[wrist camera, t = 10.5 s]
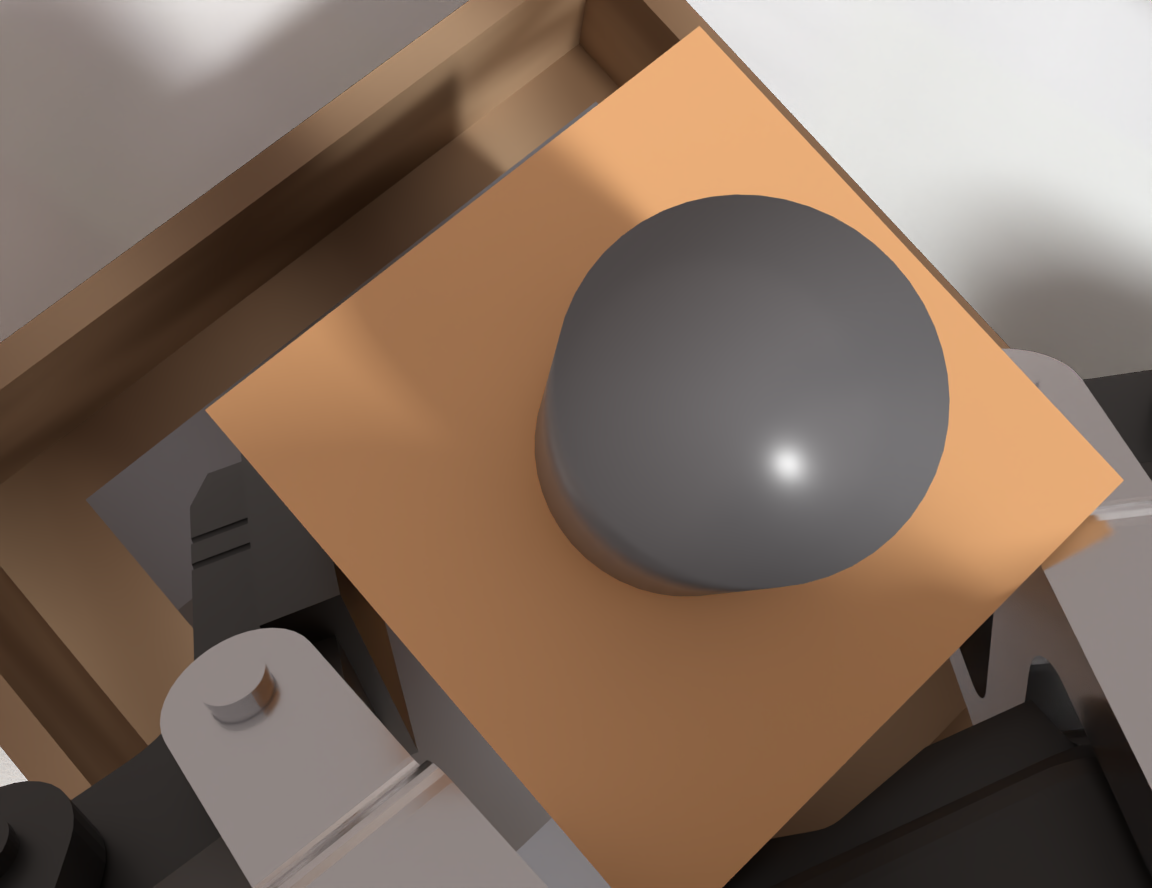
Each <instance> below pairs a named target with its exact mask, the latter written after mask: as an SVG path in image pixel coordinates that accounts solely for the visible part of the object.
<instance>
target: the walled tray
mask: <svg viewBox="0 0 1152 888" xmlns="http://www.w3.org/2000/svg"><path fill="white" fill-rule="evenodd" d="M699 26H700V27H701V28H702V29H703V30H704V31H705V32H706V33H707V34H708V35H709V37H710V38H711V39H712V40H713V41H714V42H715V43H716V44H717V45H718V46H719V47H720V48H721V49H722V50H723V52H724V53H725V54H726V55H727V56H728V57H729V58H730V59H731V60H732V61H733V62H734V63H735V64H736V65H737V67H738V68H739V69H740V70H741V71H742V72H743V73H744V74H745V75H746V76H747V77H748V78H749V79H750V80H751V82H752V83H753V84H754V85H755V86H756V87H757V88H758V89H759V90H760V91H761V92H762V93H763V94H764V95H765V96H766V98H767V99H768V100H769V101H770V102H771V103H772V104H773V105H774V106H775V107H776V108H777V109H778V110H779V111H780V113H781V114H782V115H783V116H784V117H785V118H786V119H787V120H788V121H789V122H790V123H791V124H792V125H793V126H794V128H795V129H796V130H797V131H798V132H799V133H800V134H801V135H802V136H803V137H804V138H805V139H806V140H807V141H808V143H809V144H810V145H811V146H812V147H813V148H814V149H815V150H816V151H817V152H818V153H819V154H820V155H821V156H822V157H823V159H824V160H825V161H826V162H827V163H828V164H829V165H830V166H831V167H832V168H833V169H834V170H835V171H836V172H837V174H838V175H839V176H840V177H841V178H842V179H843V180H844V181H845V182H846V183H847V184H848V185H849V186H850V187H851V189H852V190H853V191H854V192H855V193H856V194H857V195H858V196H859V197H860V198H861V199H862V200H863V201H864V202H865V204H866V205H867V206H868V207H869V208H870V209H871V210H872V211H873V212H874V213H875V214H876V215H877V216H878V217H879V218H880V220H881V221H882V222H883V223H884V224H885V225H886V226H887V227H888V228H889V229H890V230H891V231H892V232H893V233H894V235H895V236H896V237H897V238H898V239H899V240H900V241H901V242H902V243H903V244H904V245H905V246H906V247H907V248H908V250H909V251H910V252H911V253H912V254H913V255H914V256H915V257H916V258H917V259H918V260H919V261H920V262H921V263H922V265H923V266H924V267H925V268H926V269H927V270H928V271H929V272H930V273H931V274H932V275H933V276H934V277H935V278H936V279H937V281H938V282H939V283H940V284H941V285H942V286H943V287H944V288H945V289H946V290H947V291H948V292H949V293H950V294H951V296H952V297H953V298H954V299H955V300H956V301H957V302H958V303H959V304H960V305H961V306H962V307H963V308H964V309H965V311H966V312H967V313H968V314H969V315H970V316H971V317H972V318H973V319H974V320H975V321H976V322H977V323H978V324H979V326H980V327H981V328H982V329H983V330H984V331H985V332H986V333H987V334H988V335H989V336H990V337H991V338H992V339H993V340H994V342H995V343H996V344H997V345H998V346H999V347H1000V348H1001V349H1011V348H1010V347H1009V346H1008V345H1007V344H1006V343H1005V342H1004V341H1003V340H1002V339H1001V338H1000V337H999V335H998V334H997V333H996V332H995V331H994V330H993V329H992V328H991V327H990V326H989V325H988V324H987V323H986V322H985V320H984V319H983V318H982V317H981V316H980V315H979V314H978V313H977V312H976V311H975V310H974V309H973V308H972V307H971V305H970V304H969V303H968V302H967V301H966V300H965V299H964V298H963V297H962V296H961V295H960V294H959V293H958V292H957V290H956V289H955V288H954V287H953V286H952V285H951V284H950V283H949V282H948V281H947V280H946V279H945V278H944V277H943V275H942V274H941V273H940V272H939V271H938V270H937V269H936V268H935V267H934V266H933V265H932V264H931V263H930V262H929V260H928V259H927V258H926V257H925V256H924V255H923V254H922V253H921V252H920V251H919V250H918V249H917V248H916V247H915V245H914V244H913V243H912V242H911V241H910V240H909V239H908V238H907V237H906V236H905V235H904V234H903V233H902V232H901V230H900V229H899V228H898V227H897V226H896V225H895V224H894V223H893V222H892V221H891V220H890V219H889V218H888V217H887V215H886V214H885V213H884V212H883V211H882V210H881V209H880V208H879V207H878V206H877V205H876V204H875V203H874V202H873V200H872V199H871V198H870V197H869V196H868V195H867V194H866V193H865V192H864V191H863V190H862V189H861V188H860V187H859V185H858V184H857V183H856V182H855V181H854V180H853V179H852V178H851V177H850V176H849V175H848V174H847V173H846V172H845V170H844V169H843V168H842V167H841V166H840V165H839V164H838V163H837V162H836V161H835V160H834V159H833V158H832V157H831V155H830V154H829V153H828V152H827V151H826V150H825V149H824V148H823V147H822V146H821V145H820V144H819V143H818V142H817V140H816V139H815V138H814V137H813V136H812V135H811V134H810V133H809V132H808V131H807V130H806V129H805V128H804V127H803V125H802V124H801V123H800V122H799V121H798V120H797V119H796V118H795V117H794V116H793V115H792V114H791V113H790V112H789V110H788V109H787V108H786V107H785V106H784V105H783V104H782V103H781V102H780V101H779V100H778V99H777V98H776V97H775V95H774V94H773V93H772V92H771V91H770V90H769V89H768V88H767V87H766V86H765V85H764V84H763V83H762V82H761V80H760V79H759V78H758V77H757V76H756V75H755V74H754V73H753V72H752V71H751V70H750V69H749V68H748V67H747V65H746V64H745V63H744V62H743V61H742V60H741V59H740V58H739V57H738V56H737V55H736V54H735V53H734V52H733V50H732V49H731V48H730V47H729V46H728V45H727V44H726V43H725V42H724V41H723V40H722V39H721V38H720V37H719V35H718V34H717V33H716V32H715V31H714V30H713V29H712V28H711V27H710V26H709V25H708V24H707V23H706V22H705V21H704V19H703V18H702V17H701V16H700V15H699V14H698V13H697V12H696V11H695V10H694V9H693V8H692V7H691V6H690V4H689V3H688V2H687V1H686V0H469V1H468V2H466V3H465V4H463V5H462V6H461V7H459V8H458V9H457V10H455V11H454V12H453V13H451V14H450V15H448V16H447V17H446V18H444V19H443V20H442V21H440V22H439V23H437V24H436V25H435V26H433V27H432V28H431V29H429V30H428V31H427V32H425V33H424V34H422V35H421V36H420V37H418V38H417V39H416V40H414V41H413V42H411V43H410V44H409V45H407V46H406V47H405V48H403V49H402V50H401V51H399V52H398V53H396V54H395V55H394V56H392V57H391V58H390V59H388V60H387V61H385V62H384V63H383V64H381V65H380V66H379V67H377V68H376V69H375V70H373V71H372V72H370V73H369V74H368V75H366V76H365V77H364V78H362V79H361V80H359V81H358V82H357V83H355V84H354V85H353V86H351V87H350V88H349V89H347V90H346V91H344V92H343V93H342V94H340V95H339V96H338V97H336V98H335V99H333V100H332V101H331V102H329V103H328V104H327V105H325V106H324V107H323V108H321V109H320V110H318V111H317V112H316V113H314V114H313V115H312V116H310V117H309V118H307V119H306V120H305V121H303V122H302V123H301V124H299V125H298V126H297V127H295V128H294V129H292V130H291V131H290V132H288V133H287V134H286V135H284V136H283V137H281V138H280V139H279V140H277V141H276V142H275V143H273V144H272V145H271V146H269V147H268V148H266V149H265V150H264V151H262V152H261V153H260V154H258V155H257V156H255V157H254V158H253V159H251V160H250V161H249V162H247V163H246V164H245V165H243V166H242V167H240V168H239V169H238V170H236V171H235V172H234V173H232V174H231V175H229V176H228V177H227V178H225V179H224V180H223V181H221V182H220V183H219V184H217V185H216V186H214V187H213V188H212V189H210V190H209V191H208V192H206V193H205V194H203V195H202V196H201V197H199V198H198V199H197V200H195V201H194V202H193V203H191V204H190V205H188V206H187V207H186V208H184V209H183V210H182V211H180V212H179V213H177V214H176V215H175V216H173V217H172V218H171V219H169V220H168V221H167V222H165V223H164V224H162V225H161V226H160V227H158V228H157V229H156V230H154V231H153V232H151V233H150V234H149V235H147V236H146V237H145V238H143V239H142V240H141V241H139V242H138V243H136V244H135V245H134V246H132V247H131V248H130V249H128V250H127V251H125V252H124V253H123V254H121V255H120V256H119V257H117V258H116V259H115V260H113V261H112V262H110V263H109V264H108V265H106V266H105V267H104V268H102V269H101V270H99V271H98V272H97V273H95V274H94V275H93V276H91V277H90V278H89V279H87V280H86V281H84V282H83V283H82V284H80V285H79V286H78V287H76V288H75V289H73V290H72V291H71V292H69V293H68V294H67V295H65V296H64V297H63V298H61V299H60V300H58V301H57V302H56V303H54V304H53V305H52V306H50V307H49V308H47V309H46V310H45V311H43V312H42V313H41V314H39V315H38V316H37V317H35V318H34V319H32V320H31V321H30V322H28V323H27V324H26V325H24V326H23V327H21V328H20V329H19V330H17V331H16V332H15V333H13V334H12V335H11V336H9V337H8V338H6V339H5V340H4V341H2V342H1V343H0V746H1V748H2V749H3V750H4V751H5V753H6V754H7V755H8V756H9V757H10V759H11V760H12V761H13V762H14V764H15V765H16V766H17V767H18V769H19V770H20V771H21V772H22V774H23V775H24V776H25V777H26V778H27V780H28V781H41V782H45V783H49V784H52V785H54V786H56V787H58V788H60V789H61V790H62V791H63V792H64V793H65V794H66V795H67V796H68V797H69V799H70V800H72V799H73V798H75V797H76V796H78V795H79V794H81V793H82V792H84V791H85V790H87V789H88V788H90V787H91V786H92V785H94V784H95V783H97V782H98V781H100V780H101V779H103V778H104V777H106V776H107V775H109V774H110V773H112V772H113V771H115V770H116V769H118V768H119V767H121V766H122V765H123V764H125V763H126V762H128V761H129V760H131V759H132V758H133V757H135V756H136V755H137V754H139V753H140V752H141V751H143V750H144V749H145V748H146V747H147V746H149V745H150V744H151V743H152V742H153V741H154V740H155V739H156V738H157V737H158V736H159V735H160V734H161V728H160V717H161V710H162V707H163V704H164V701H165V699H166V697H167V695H168V693H169V691H170V689H171V687H172V686H173V684H174V683H175V681H176V680H177V678H178V677H179V676H180V675H181V674H182V673H183V671H184V670H185V669H186V668H187V667H188V666H189V665H190V664H191V663H192V662H194V641H193V604H192V570H194V569H193V566H192V564H191V544H193V542H192V540H191V529H190V506H191V504H192V502H193V500H194V498H195V497H196V495H197V493H198V491H199V489H200V487H201V485H202V483H203V481H204V479H205V477H206V476H207V474H208V473H211V472H213V471H216V470H219V469H222V468H225V467H227V466H230V465H233V464H236V463H239V462H241V461H242V460H241V452H240V451H239V450H238V448H237V447H236V446H235V445H234V444H233V443H232V441H231V440H230V439H229V438H228V437H227V435H226V434H225V433H224V432H223V431H222V430H221V428H220V427H219V426H218V425H217V424H216V423H215V421H214V420H213V419H212V418H211V417H210V416H209V414H208V413H207V412H206V411H205V410H206V409H207V408H208V407H210V406H211V405H212V404H213V403H215V402H216V401H217V400H219V399H220V398H221V397H222V396H224V395H225V394H226V393H228V392H229V391H230V390H231V389H233V388H234V387H235V386H237V385H238V384H239V383H240V382H242V381H243V380H244V379H246V378H247V377H248V376H249V375H251V374H252V373H253V372H255V371H256V370H257V369H258V368H260V367H261V366H262V365H264V364H265V363H266V362H267V361H269V360H270V359H271V358H273V357H274V356H275V355H276V354H278V353H279V352H280V351H282V350H283V349H284V348H285V347H287V346H288V345H289V344H291V343H292V342H293V341H294V340H296V339H297V338H298V337H300V336H301V335H302V334H303V333H305V332H306V331H307V330H309V329H310V328H311V327H312V326H314V325H315V324H316V323H318V322H319V321H320V320H322V319H323V318H324V317H325V316H327V315H328V314H329V313H331V312H332V311H333V310H334V309H336V308H337V307H338V306H340V305H341V304H342V303H343V302H345V301H346V300H347V299H349V298H350V297H351V296H352V295H354V294H355V293H356V292H358V291H359V290H360V289H361V288H363V287H364V286H365V285H367V284H368V283H369V282H370V281H372V280H373V279H374V278H376V277H377V276H378V275H379V274H381V273H382V272H383V271H385V270H386V269H387V268H388V267H390V266H391V265H392V264H394V263H395V262H396V261H397V260H399V259H400V258H401V257H403V256H404V255H405V254H406V253H408V252H409V251H410V250H412V249H413V248H414V247H415V246H417V245H418V244H419V243H421V242H422V241H423V240H424V239H426V238H427V237H428V236H430V235H431V234H432V233H433V232H435V231H436V230H437V229H439V228H440V227H441V226H442V225H444V224H445V223H446V222H448V221H449V220H450V219H452V218H453V217H454V216H455V215H457V214H458V213H459V212H461V211H462V210H463V209H464V208H466V207H467V206H468V205H470V204H471V203H472V202H473V201H475V200H476V199H477V198H479V197H480V196H481V195H482V194H484V193H485V192H486V191H488V190H489V189H490V188H491V187H493V186H494V185H495V184H497V183H498V182H499V181H500V180H502V179H503V178H504V177H506V176H507V175H508V174H509V173H511V172H512V171H513V170H515V169H516V168H517V167H518V166H520V165H521V164H522V163H524V162H525V161H526V160H527V159H529V158H530V157H531V156H533V155H534V154H535V153H536V152H538V151H539V150H540V149H542V148H543V147H544V146H545V145H547V144H548V143H549V142H551V141H552V140H553V139H554V138H556V137H557V136H558V135H560V134H561V133H562V132H563V131H565V130H566V129H567V128H569V127H570V126H571V125H572V124H574V123H575V122H576V121H578V120H579V119H580V118H582V117H583V116H584V115H585V114H587V113H588V112H589V111H591V110H592V109H593V108H594V107H596V106H597V105H598V104H600V103H601V102H602V101H603V100H605V99H606V98H607V97H609V96H610V95H611V94H612V93H614V92H615V91H616V90H618V89H619V88H620V87H621V86H623V85H624V84H625V83H627V82H628V81H629V80H630V79H632V78H633V77H634V76H636V75H637V74H638V73H639V72H641V71H642V70H643V69H645V68H646V67H647V66H648V65H650V64H651V63H652V62H654V61H655V60H656V59H657V58H659V57H660V56H661V55H663V54H664V53H665V52H666V51H668V50H669V49H670V48H672V47H673V46H674V45H675V44H677V43H678V42H679V41H681V40H682V39H683V38H684V37H686V36H687V35H688V34H690V33H691V32H692V31H693V30H695V29H696V28H697V27H699ZM385 625H386V629H387V633H388V637H389V641H390V644H391V648H392V652H393V656H394V660H395V664H396V668H397V672H398V676H399V679H400V683H401V687H402V691H403V695H404V699H405V703H406V707H407V710H408V714H409V718H410V722H411V726H412V730H413V734H414V738H415V741H416V745H417V749H418V752H417V753H415V754H412V755H410V756H411V757H412V758H413V759H414V760H415V761H416V762H417V763H418V764H419V765H421V764H423V763H424V762H425V761H426V760H428V761H431V762H432V763H434V764H435V765H436V766H437V767H439V768H440V769H441V770H442V771H443V772H444V773H445V774H446V775H447V776H448V777H449V778H450V779H451V780H452V782H453V783H454V784H455V785H456V786H457V787H458V788H459V789H460V790H461V791H462V793H463V794H464V795H465V796H466V797H467V798H468V799H469V800H470V801H471V803H472V804H473V805H474V806H475V807H476V808H477V809H478V810H479V811H480V812H481V814H482V815H483V816H484V817H485V818H486V819H487V820H488V821H489V822H490V824H491V825H492V826H493V827H494V828H495V829H496V830H497V831H498V832H499V833H500V835H501V836H502V837H503V838H504V839H505V840H506V841H507V842H508V843H509V845H510V846H511V847H512V848H513V849H514V850H515V851H516V852H517V853H518V854H519V856H520V857H521V858H522V859H523V860H524V861H525V862H526V863H527V864H528V866H529V867H530V868H531V869H532V870H533V871H534V872H535V873H536V874H537V875H538V877H539V878H540V879H541V880H542V881H543V882H544V883H545V884H546V885H547V886H548V888H611V887H610V886H609V884H608V883H607V882H606V881H605V880H604V878H603V877H602V876H601V875H600V874H599V873H598V871H597V870H596V869H595V868H594V867H593V866H592V864H591V863H590V862H589V861H588V860H587V858H586V857H585V856H584V855H583V854H582V853H581V851H580V850H579V849H578V848H577V847H576V846H575V844H574V843H573V842H572V841H571V840H570V839H569V837H568V836H567V835H566V834H565V833H564V831H563V830H562V829H561V828H560V827H559V826H558V824H557V823H556V822H555V821H554V820H553V819H552V817H551V816H550V815H549V814H548V813H547V811H546V810H545V809H544V808H543V807H542V806H541V804H540V803H539V802H538V801H537V800H536V799H535V797H534V796H533V795H532V794H531V793H530V792H529V790H528V789H527V788H526V787H525V786H524V784H523V783H522V782H521V781H520V780H519V779H518V777H517V776H516V775H515V774H514V773H513V772H512V770H511V769H510V768H509V767H508V766H507V764H506V763H505V762H504V761H503V760H502V759H501V757H500V756H499V755H498V754H497V753H496V752H495V750H494V749H493V748H492V747H491V746H490V745H489V743H488V742H487V741H486V740H485V739H484V737H483V736H482V735H481V734H480V733H479V732H478V730H477V729H476V728H475V727H474V726H473V725H472V723H471V722H470V721H469V720H468V719H467V717H466V716H465V715H464V714H463V713H462V712H461V710H460V709H459V708H458V707H457V706H456V705H455V703H454V702H453V701H452V700H451V699H450V698H449V696H448V695H447V694H446V693H445V692H444V690H443V689H442V688H441V687H440V686H439V685H438V683H437V682H436V681H435V680H434V679H433V678H432V676H431V675H430V674H429V673H428V672H427V670H426V669H425V668H424V667H423V666H422V665H421V663H420V662H419V661H418V660H417V659H416V658H415V656H414V655H413V654H412V653H411V652H410V651H409V649H408V648H407V647H406V646H405V645H404V643H403V642H402V641H401V640H400V639H399V638H398V636H397V635H396V634H395V633H394V632H393V631H392V629H391V628H390V627H389V626H388V625H387V623H386V622H385ZM971 726H973V724H972V721H971V718H970V715H969V712H968V709H967V706H966V703H965V701H964V698H963V695H962V692H961V689H960V686H959V684H958V681H957V678H956V675H955V672H954V669H953V667H952V664H951V661H950V658H948V659H947V660H946V661H945V662H944V663H943V664H942V665H941V666H940V667H939V668H938V669H937V670H936V671H935V672H934V673H933V674H932V676H931V677H930V678H929V679H928V680H927V681H926V682H925V683H924V684H923V685H922V686H921V687H920V688H919V689H918V690H917V691H916V692H915V693H914V694H913V695H912V696H911V697H910V698H909V699H908V700H907V701H906V702H905V703H904V704H903V705H902V706H901V707H900V708H899V709H898V710H897V711H896V712H895V713H894V714H893V715H892V716H891V717H890V718H889V719H888V720H887V721H886V722H885V723H884V724H883V725H882V726H881V727H880V728H879V729H878V730H877V731H876V732H875V733H874V734H873V735H872V736H871V737H870V738H869V739H868V740H867V741H866V742H865V743H864V744H863V745H862V746H861V748H860V749H859V750H858V751H857V752H856V753H855V754H854V755H853V756H852V757H851V758H850V759H849V760H848V761H847V762H846V763H845V764H844V765H843V766H842V767H841V768H840V769H839V770H838V771H837V772H836V773H835V774H834V775H833V776H832V777H831V778H830V779H829V780H828V781H827V782H826V783H825V784H824V785H823V786H822V787H821V788H820V789H819V790H818V791H817V792H816V793H815V794H814V795H813V796H812V797H811V798H810V799H809V800H808V801H807V802H806V803H805V804H804V805H803V806H802V807H801V808H800V809H799V810H798V811H797V812H796V813H795V814H794V815H793V816H792V817H791V818H790V820H789V821H788V822H787V823H786V824H785V825H784V826H783V827H782V828H781V829H780V830H779V831H778V832H777V833H776V834H775V835H774V836H773V837H772V838H777V837H783V836H789V835H794V834H800V833H806V832H811V831H816V830H820V829H824V828H826V827H829V826H831V825H833V824H834V823H836V822H837V821H839V820H840V819H841V818H842V817H844V816H845V815H846V814H847V813H848V812H850V811H851V810H852V809H853V808H854V807H855V806H857V805H858V804H859V803H860V802H861V801H862V800H864V799H865V798H866V797H867V796H868V795H870V794H871V793H872V792H873V791H874V790H875V789H877V788H878V787H879V786H880V785H881V784H882V783H884V782H885V781H886V780H887V779H888V778H890V777H891V776H892V775H893V774H894V773H895V772H897V771H898V770H899V769H900V768H901V767H902V766H904V765H905V764H906V763H907V762H908V761H910V760H911V759H912V758H913V757H914V756H915V755H917V754H918V753H919V752H920V751H921V750H922V749H924V748H925V747H927V746H929V745H931V744H933V743H936V742H938V741H940V740H942V739H944V738H947V737H949V736H951V735H953V734H956V733H958V732H960V731H962V730H964V729H967V728H969V727H971ZM772 838H771V839H772Z"/></svg>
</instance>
